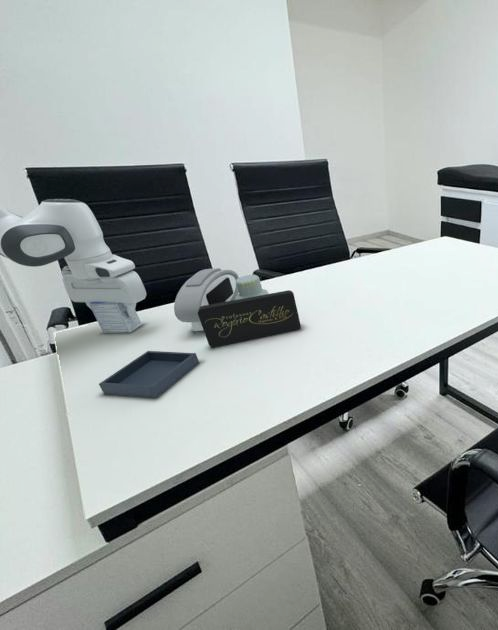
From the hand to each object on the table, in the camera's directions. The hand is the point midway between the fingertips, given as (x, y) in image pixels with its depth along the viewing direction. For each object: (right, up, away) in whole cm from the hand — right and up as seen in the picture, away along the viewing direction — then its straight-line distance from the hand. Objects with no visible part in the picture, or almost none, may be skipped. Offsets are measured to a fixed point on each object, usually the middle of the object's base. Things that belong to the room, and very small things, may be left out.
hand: (117, 316), depth 100 cm
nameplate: (+39, -5, -6) cm, 40 cm away
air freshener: (+34, +1, +6) cm, 34 cm away
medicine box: (0, -4, +2) cm, 4 cm away
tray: (+23, -13, -20) cm, 33 cm away
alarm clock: (+23, 0, +6) cm, 24 cm away
